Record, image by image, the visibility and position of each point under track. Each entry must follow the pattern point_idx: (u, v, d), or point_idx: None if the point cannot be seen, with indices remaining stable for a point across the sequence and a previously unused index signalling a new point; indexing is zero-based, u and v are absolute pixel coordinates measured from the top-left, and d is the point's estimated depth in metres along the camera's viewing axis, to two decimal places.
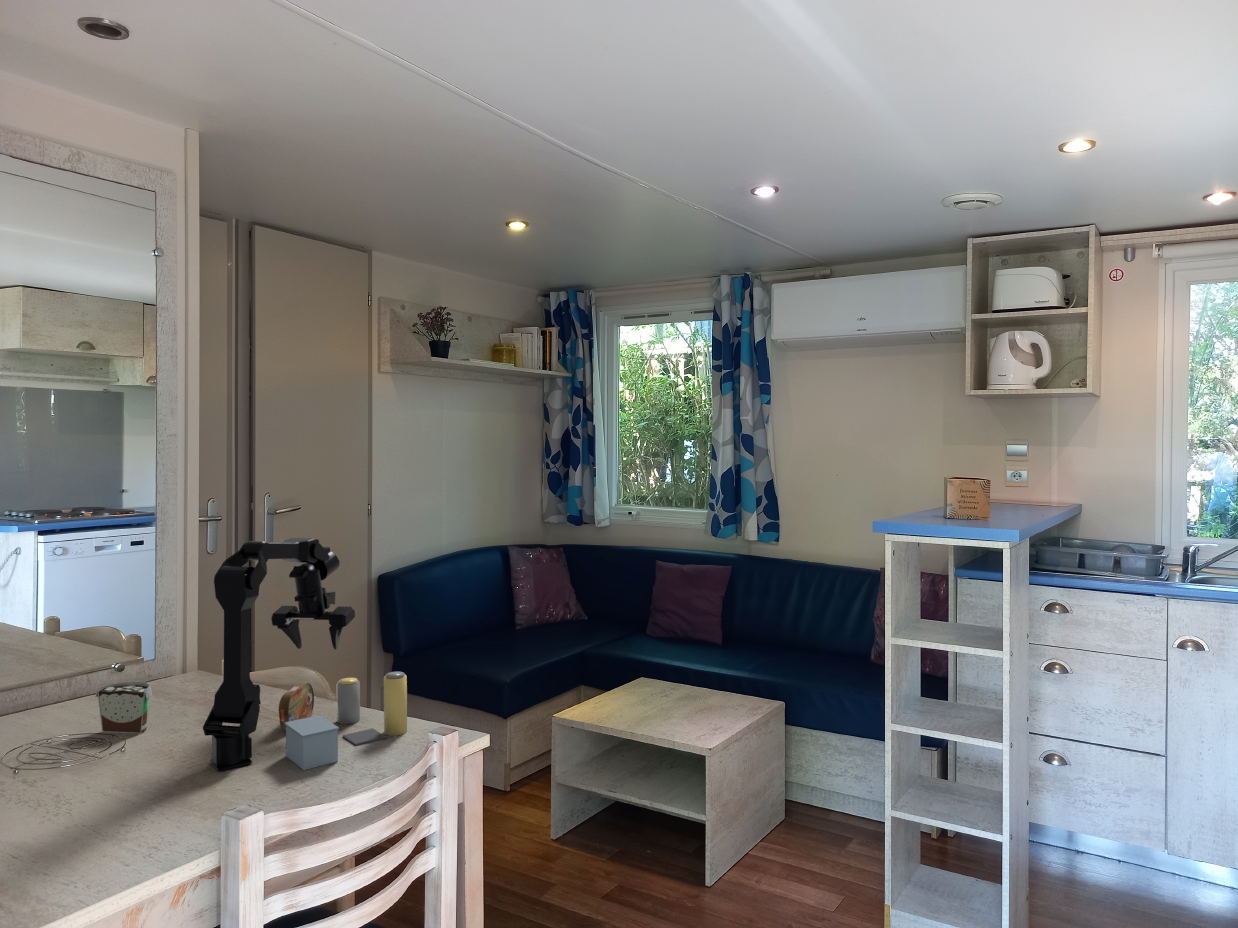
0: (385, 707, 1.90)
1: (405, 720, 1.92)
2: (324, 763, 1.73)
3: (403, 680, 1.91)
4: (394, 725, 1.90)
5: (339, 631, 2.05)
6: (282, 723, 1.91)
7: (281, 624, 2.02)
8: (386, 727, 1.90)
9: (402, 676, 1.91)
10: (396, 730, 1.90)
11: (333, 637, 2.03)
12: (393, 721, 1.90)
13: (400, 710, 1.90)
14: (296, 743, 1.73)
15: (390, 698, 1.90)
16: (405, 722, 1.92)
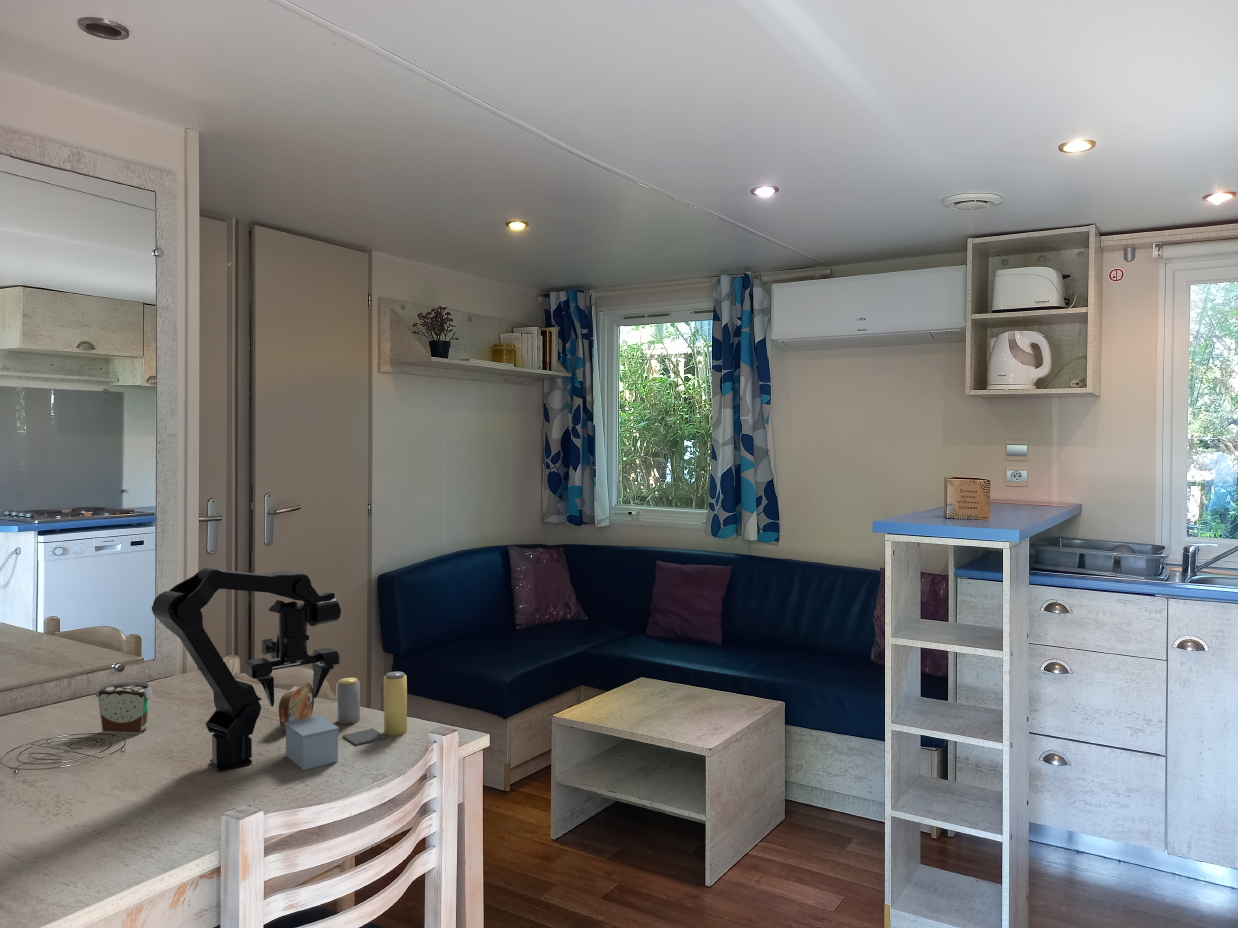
0: (385, 707, 1.90)
1: (405, 720, 1.92)
2: (324, 763, 1.73)
3: (403, 680, 1.91)
4: (394, 725, 1.90)
5: None
6: (282, 723, 1.91)
7: (267, 674, 1.78)
8: (386, 727, 1.90)
9: (402, 676, 1.91)
10: (396, 730, 1.90)
11: (321, 681, 1.87)
12: (393, 721, 1.90)
13: (400, 710, 1.90)
14: (296, 743, 1.73)
15: (390, 698, 1.90)
16: (405, 722, 1.92)
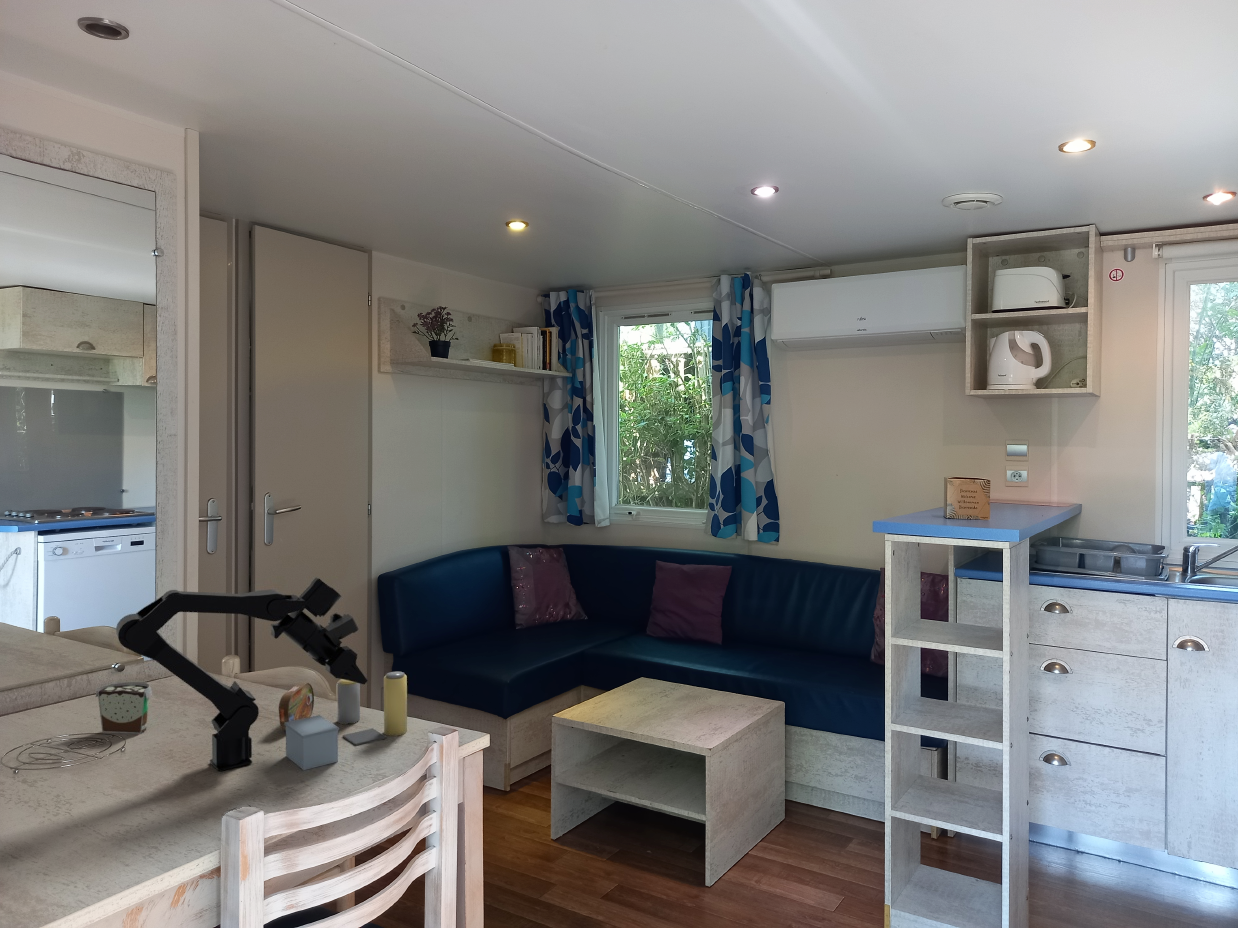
0: (385, 707, 1.90)
1: (405, 720, 1.92)
2: (324, 763, 1.73)
3: (403, 680, 1.91)
4: (394, 725, 1.90)
5: (354, 669, 1.81)
6: (282, 723, 1.91)
7: (316, 661, 1.89)
8: (386, 727, 1.90)
9: (402, 676, 1.91)
10: (396, 730, 1.90)
11: (347, 679, 1.81)
12: (393, 721, 1.90)
13: (400, 710, 1.90)
14: (296, 743, 1.73)
15: (390, 698, 1.90)
16: (405, 722, 1.92)
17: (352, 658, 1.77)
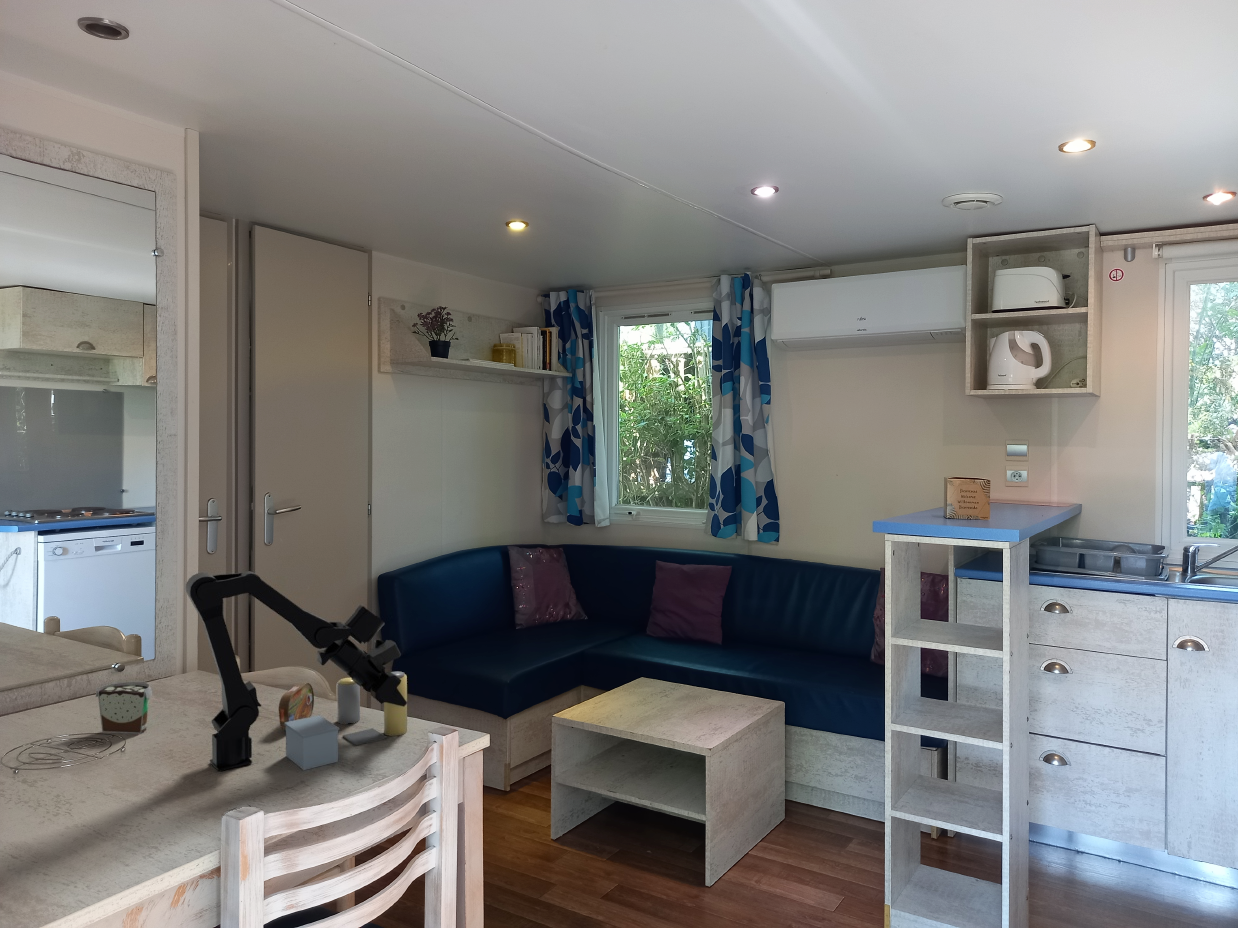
0: (385, 707, 1.90)
1: (405, 720, 1.92)
2: (324, 763, 1.73)
3: (403, 680, 1.91)
4: (394, 725, 1.90)
5: (395, 692, 1.88)
6: (282, 723, 1.91)
7: (359, 685, 1.94)
8: (386, 727, 1.90)
9: (402, 676, 1.91)
10: (396, 730, 1.90)
11: None
12: (393, 721, 1.90)
13: (400, 710, 1.90)
14: (296, 743, 1.73)
15: None
16: (405, 722, 1.92)
17: (396, 684, 1.83)
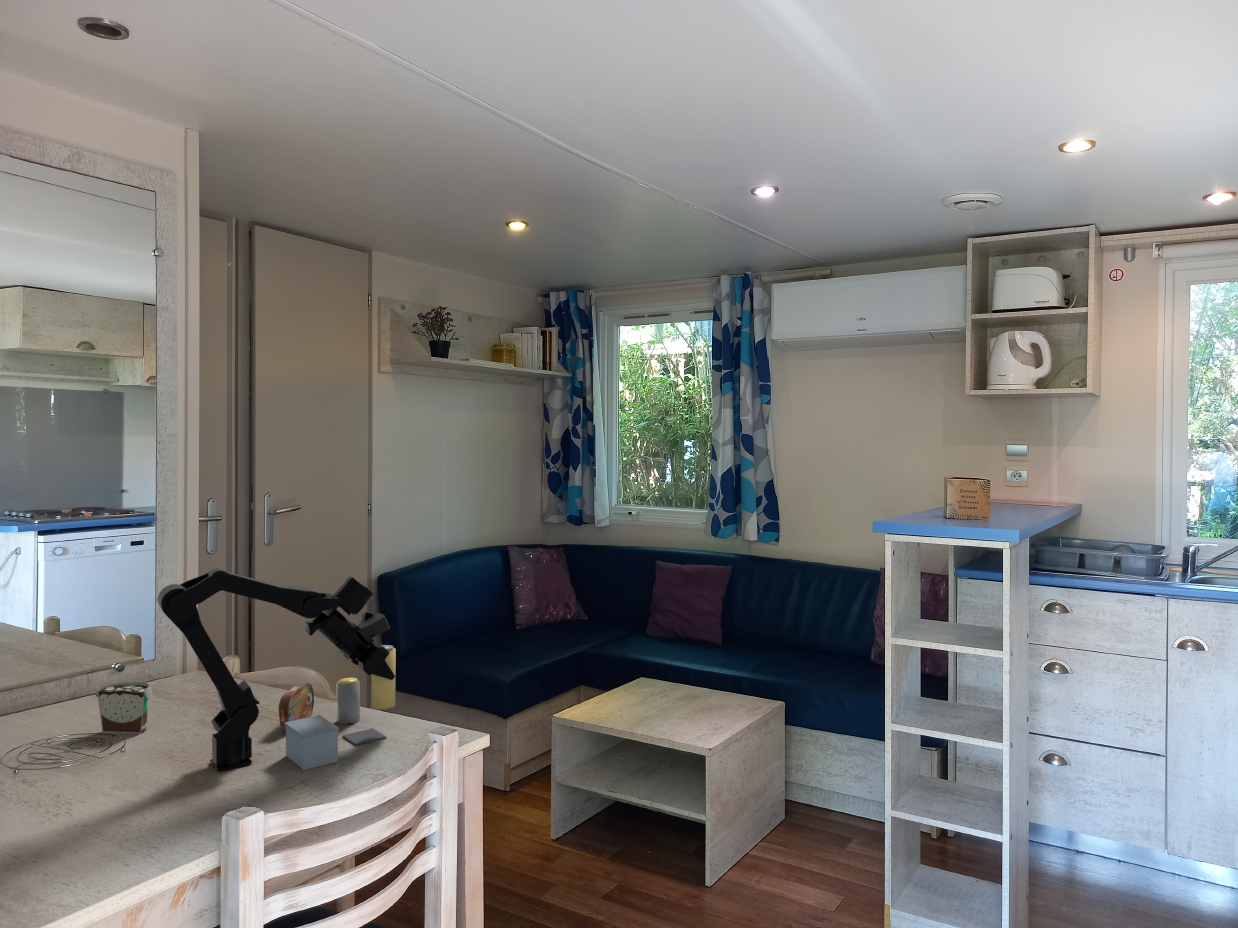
0: (373, 680, 1.89)
1: (393, 694, 1.90)
2: (324, 763, 1.73)
3: (392, 654, 1.89)
4: (382, 698, 1.88)
5: (383, 665, 1.86)
6: (282, 723, 1.91)
7: (347, 658, 1.92)
8: (374, 700, 1.89)
9: (391, 649, 1.90)
10: (384, 704, 1.88)
11: None
12: (381, 695, 1.88)
13: (388, 683, 1.89)
14: (296, 743, 1.73)
15: None
16: (393, 696, 1.90)
17: (384, 656, 1.81)
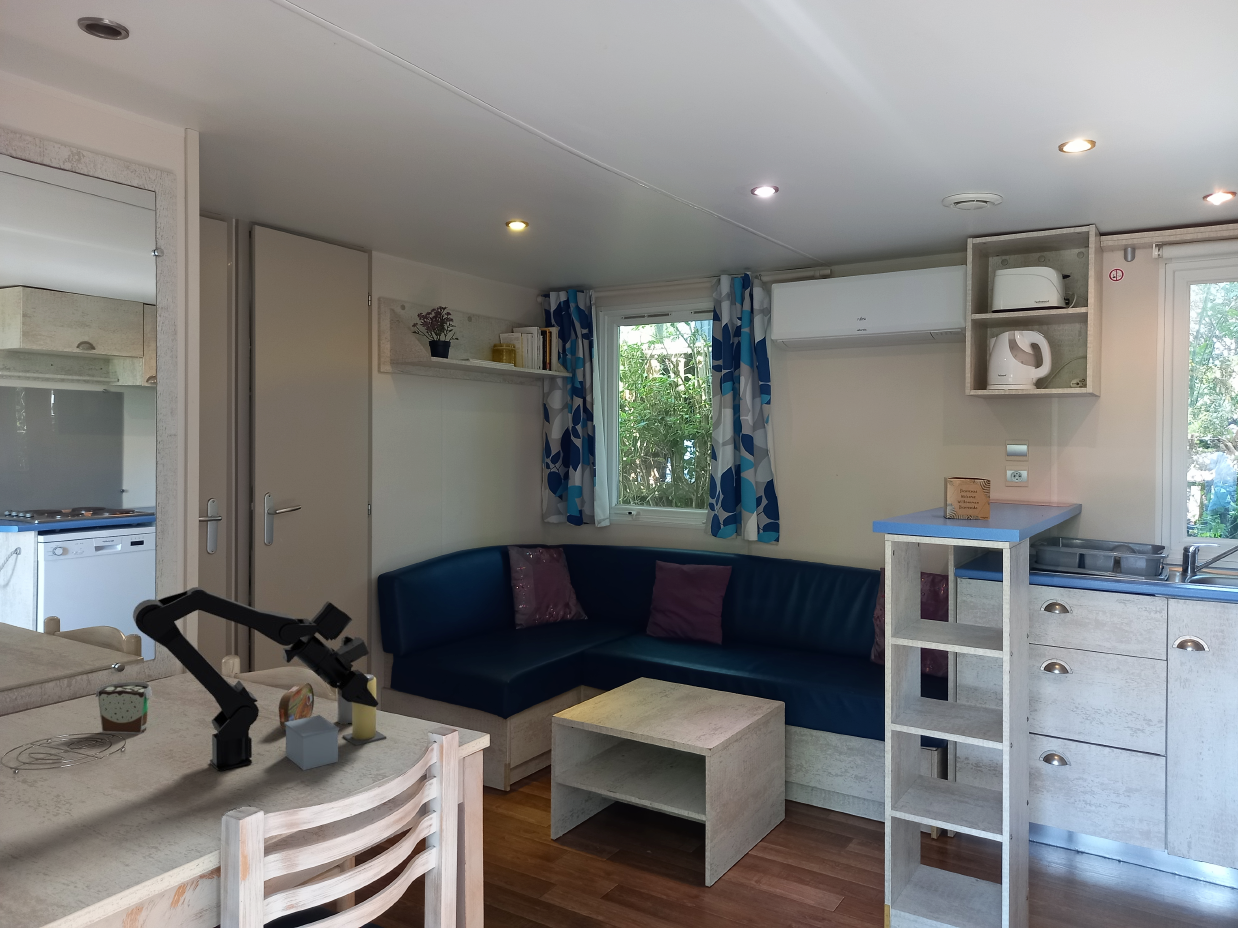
0: (353, 710, 1.86)
1: (374, 724, 1.88)
2: (324, 763, 1.73)
3: (372, 683, 1.87)
4: (363, 729, 1.86)
5: (366, 693, 1.82)
6: (282, 723, 1.91)
7: (327, 683, 1.90)
8: (354, 731, 1.86)
9: (371, 679, 1.87)
10: (364, 734, 1.86)
11: None
12: (362, 725, 1.86)
13: (368, 713, 1.86)
14: (296, 743, 1.73)
15: None
16: (374, 726, 1.88)
17: (363, 682, 1.79)
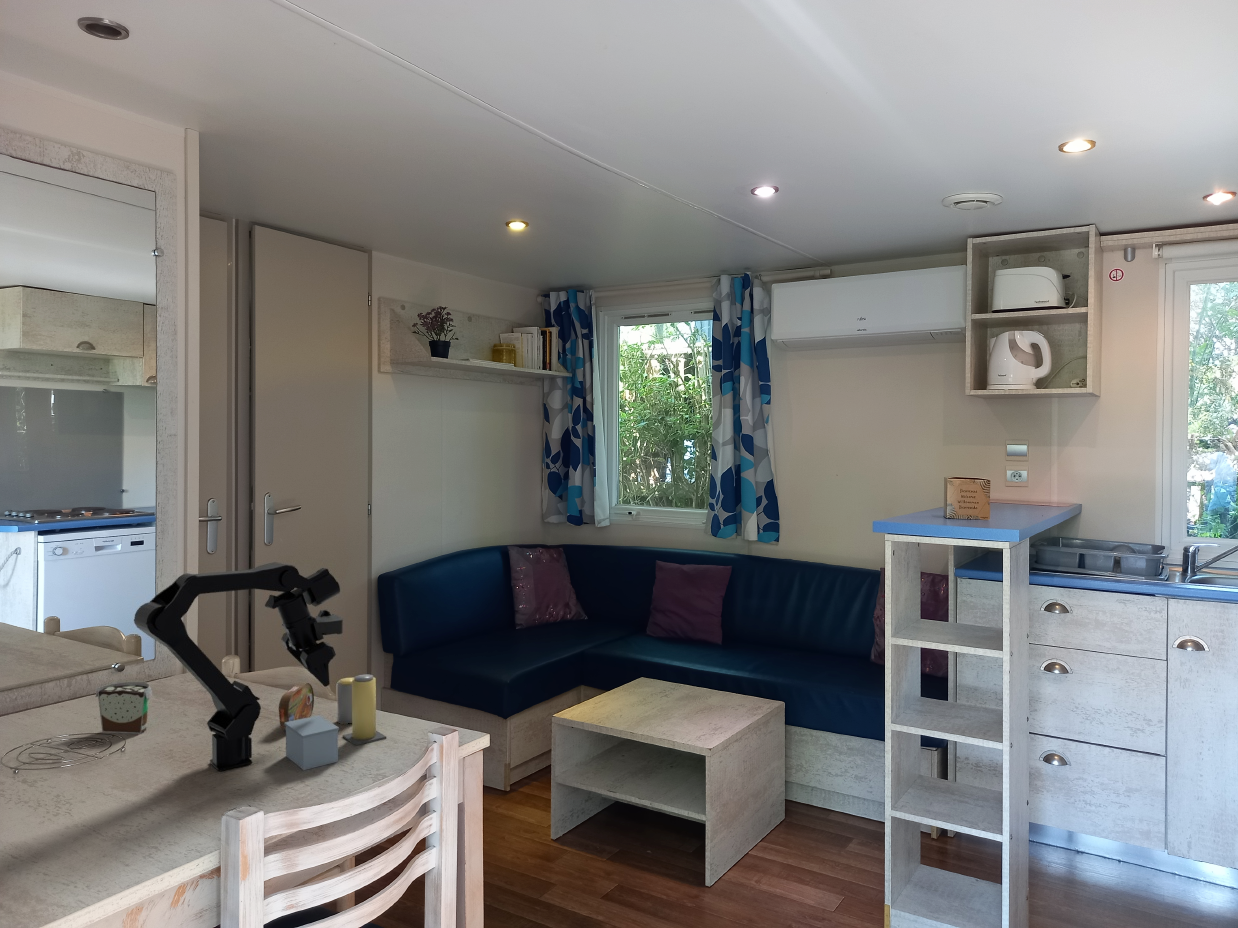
0: (353, 711, 1.86)
1: (374, 724, 1.88)
2: (324, 763, 1.73)
3: (372, 683, 1.87)
4: (362, 729, 1.86)
5: (324, 668, 1.82)
6: (282, 723, 1.91)
7: (286, 647, 1.89)
8: (354, 731, 1.86)
9: (371, 679, 1.87)
10: (364, 734, 1.86)
11: (313, 675, 1.81)
12: (361, 725, 1.86)
13: (368, 713, 1.86)
14: (296, 743, 1.73)
15: (358, 702, 1.86)
16: (374, 726, 1.88)
17: (330, 656, 1.79)
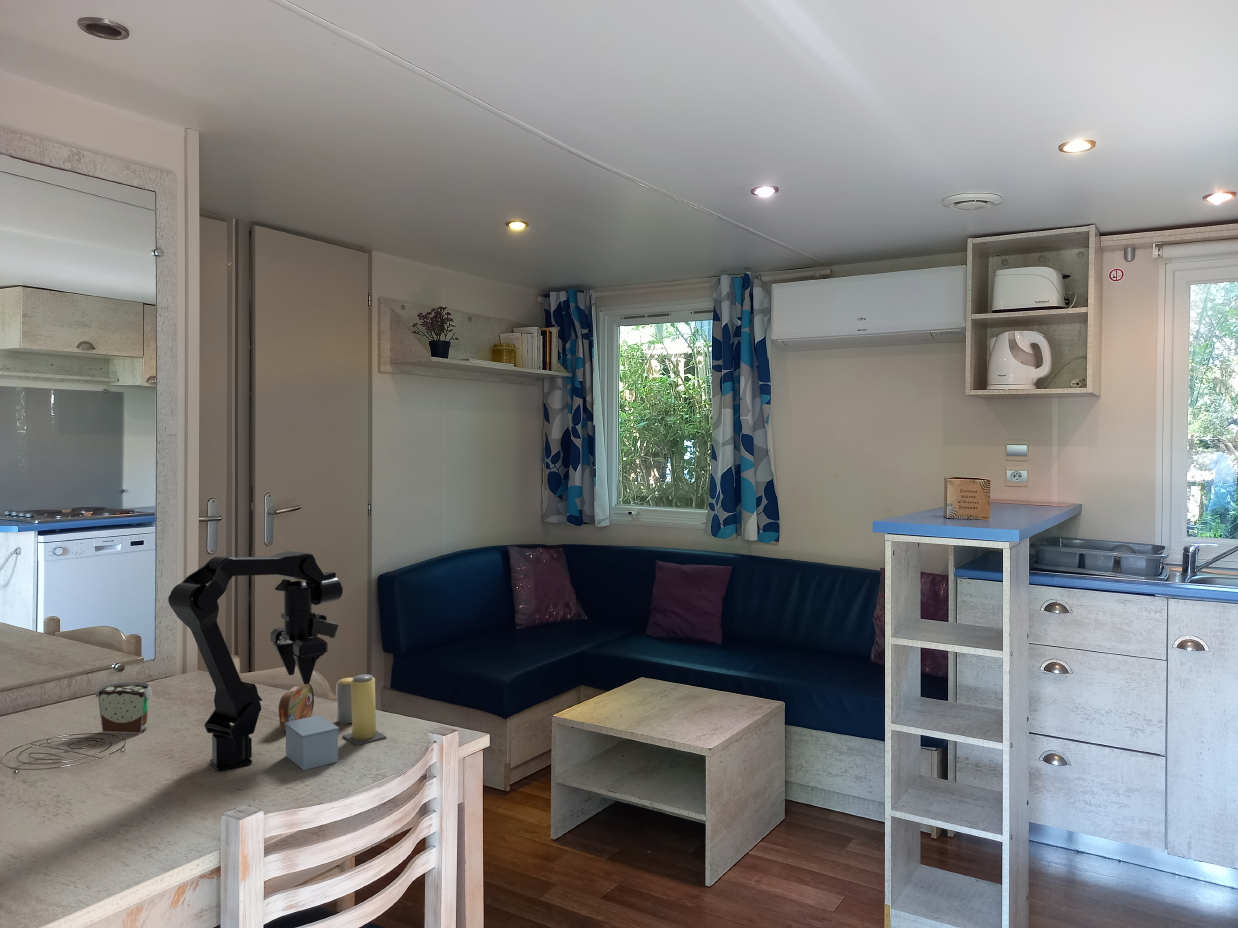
0: (353, 711, 1.86)
1: (373, 724, 1.88)
2: (324, 763, 1.73)
3: (371, 683, 1.87)
4: (362, 729, 1.86)
5: (310, 664, 1.84)
6: (282, 723, 1.91)
7: (273, 641, 1.91)
8: (354, 731, 1.86)
9: (370, 679, 1.87)
10: (364, 734, 1.86)
11: (298, 668, 1.82)
12: (361, 725, 1.86)
13: (368, 713, 1.86)
14: (296, 743, 1.73)
15: (357, 702, 1.86)
16: (374, 726, 1.88)
17: (323, 650, 1.82)
